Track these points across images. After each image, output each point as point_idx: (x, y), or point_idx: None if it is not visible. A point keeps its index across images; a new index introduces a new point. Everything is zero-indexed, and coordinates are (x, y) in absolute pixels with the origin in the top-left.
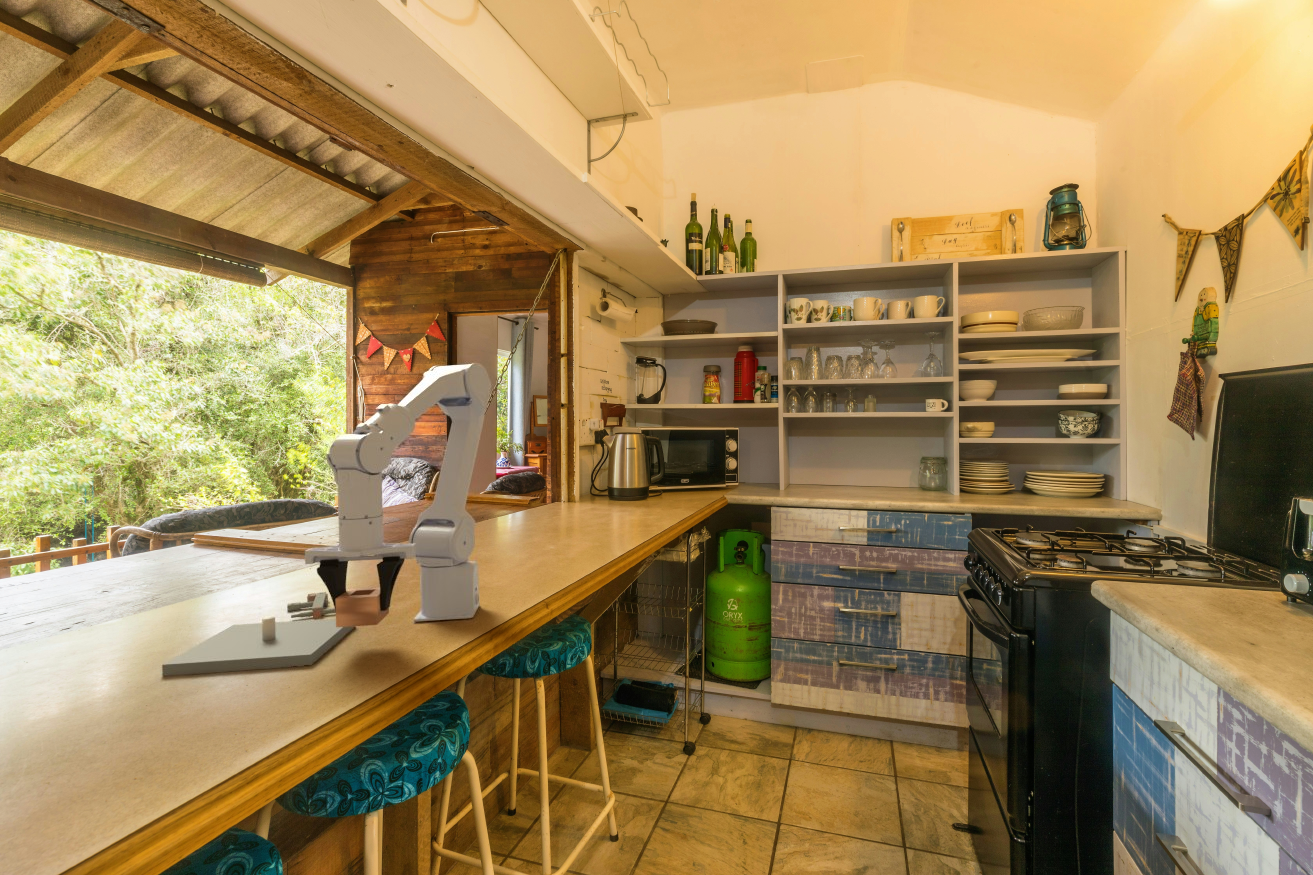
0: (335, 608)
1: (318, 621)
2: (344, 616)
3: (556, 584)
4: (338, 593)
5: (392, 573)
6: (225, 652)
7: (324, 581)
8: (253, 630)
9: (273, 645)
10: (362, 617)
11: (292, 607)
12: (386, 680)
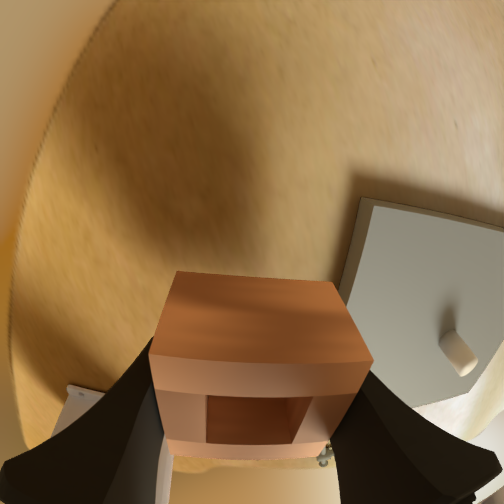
0: None
1: None
2: (311, 304)
3: (38, 444)
4: (363, 405)
5: (31, 450)
6: (501, 277)
7: (446, 434)
8: (456, 374)
9: (446, 298)
10: (232, 293)
11: None
12: (127, 32)
